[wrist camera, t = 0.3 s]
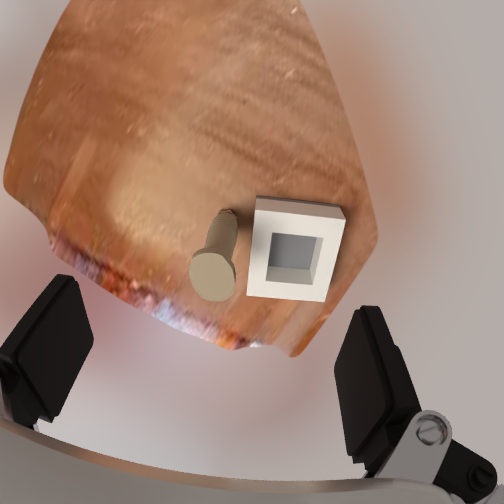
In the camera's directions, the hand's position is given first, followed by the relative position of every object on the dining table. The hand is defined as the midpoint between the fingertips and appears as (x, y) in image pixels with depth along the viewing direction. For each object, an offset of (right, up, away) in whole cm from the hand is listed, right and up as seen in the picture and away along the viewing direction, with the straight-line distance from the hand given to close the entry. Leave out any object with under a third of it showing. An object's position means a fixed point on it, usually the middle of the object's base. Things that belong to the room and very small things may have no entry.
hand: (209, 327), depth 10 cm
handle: (-2, +8, +38) cm, 38 cm away
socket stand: (+7, +4, +39) cm, 40 cm away
